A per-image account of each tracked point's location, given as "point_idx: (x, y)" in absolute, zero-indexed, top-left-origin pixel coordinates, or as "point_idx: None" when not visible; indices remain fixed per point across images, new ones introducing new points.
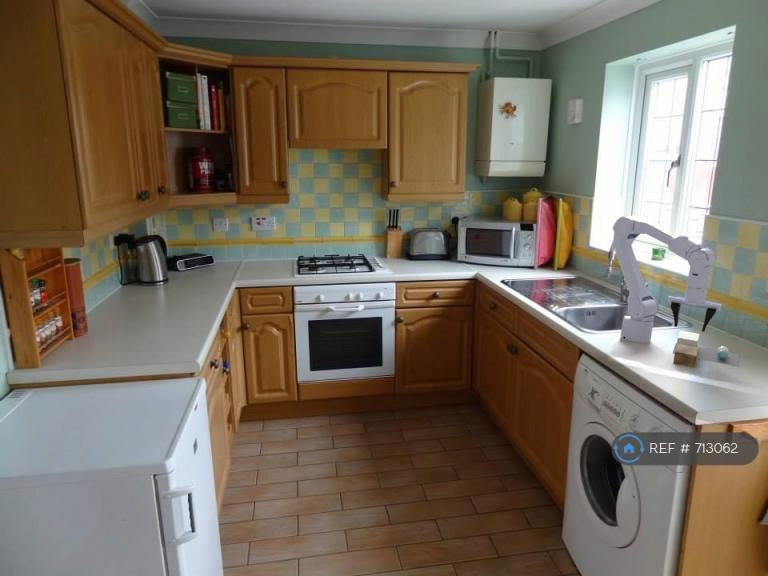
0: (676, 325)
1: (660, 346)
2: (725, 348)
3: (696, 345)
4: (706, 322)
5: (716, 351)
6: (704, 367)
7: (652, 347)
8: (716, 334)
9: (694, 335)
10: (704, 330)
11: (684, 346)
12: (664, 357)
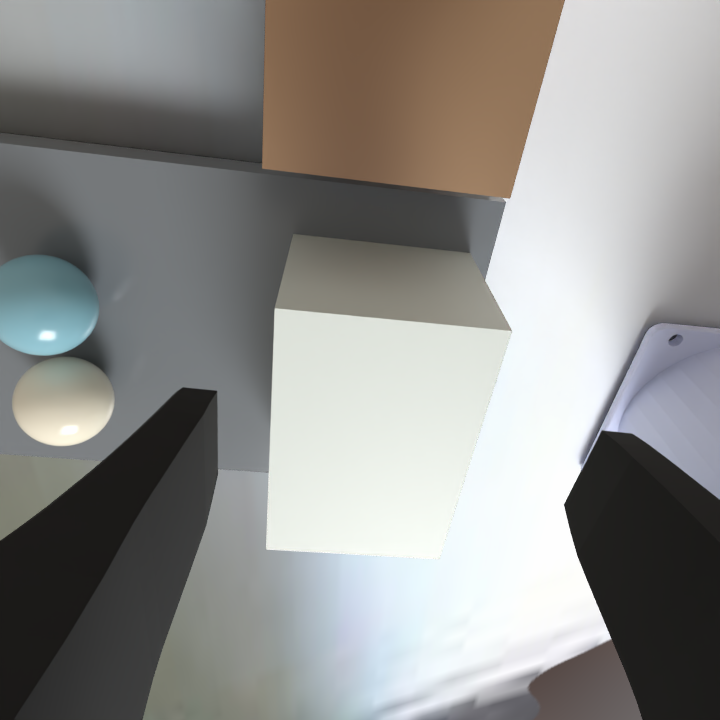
0: (621, 443)
1: (535, 420)
2: (27, 402)
3: (287, 281)
4: (82, 510)
5: None
6: (196, 30)
7: (607, 370)
8: (198, 710)
9: (313, 488)
10: (169, 399)
11: (441, 111)
12: (564, 149)
